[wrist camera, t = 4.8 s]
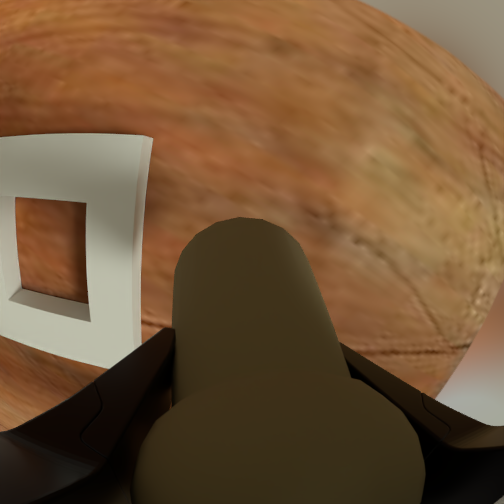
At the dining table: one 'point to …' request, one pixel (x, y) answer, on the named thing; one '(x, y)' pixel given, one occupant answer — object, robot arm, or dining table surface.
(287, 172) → the dining table surface
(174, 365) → the olive green peg
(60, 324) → the socket board
